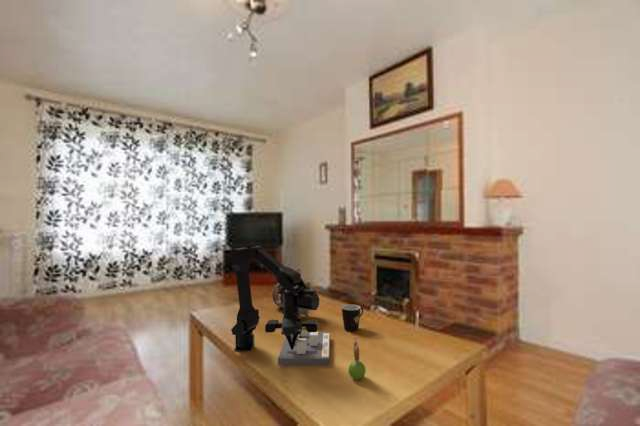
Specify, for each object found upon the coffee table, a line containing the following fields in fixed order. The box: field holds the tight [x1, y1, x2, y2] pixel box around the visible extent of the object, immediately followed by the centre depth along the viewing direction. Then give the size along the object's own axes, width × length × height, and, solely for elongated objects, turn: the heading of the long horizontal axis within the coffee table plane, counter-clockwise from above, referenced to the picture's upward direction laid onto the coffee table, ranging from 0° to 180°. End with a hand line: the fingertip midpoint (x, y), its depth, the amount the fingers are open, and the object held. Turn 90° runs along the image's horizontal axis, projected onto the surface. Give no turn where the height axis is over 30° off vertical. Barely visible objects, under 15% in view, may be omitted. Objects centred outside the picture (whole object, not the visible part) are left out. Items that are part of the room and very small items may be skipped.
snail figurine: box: [348, 336, 367, 380], centre depth 105 cm, size 5×6×12 cm
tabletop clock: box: [294, 268, 311, 323], centre depth 163 cm, size 14×9×25 cm, turn 168°
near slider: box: [297, 338, 306, 354], centre depth 119 cm, size 3×4×4 cm
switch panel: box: [277, 332, 331, 367], centre depth 126 cm, size 18×24×3 cm
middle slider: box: [309, 330, 319, 346], centre depth 126 cm, size 3×4×4 cm
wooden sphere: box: [271, 282, 284, 309], centre depth 183 cm, size 15×15×15 cm
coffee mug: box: [341, 304, 364, 333], centre depth 148 cm, size 12×9×10 cm
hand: (292, 349), depth 119 cm, fingers closed
